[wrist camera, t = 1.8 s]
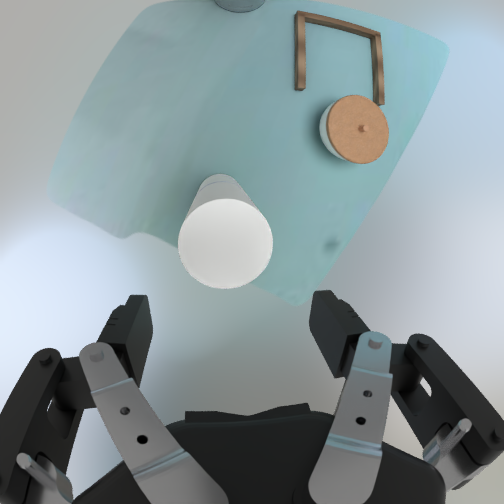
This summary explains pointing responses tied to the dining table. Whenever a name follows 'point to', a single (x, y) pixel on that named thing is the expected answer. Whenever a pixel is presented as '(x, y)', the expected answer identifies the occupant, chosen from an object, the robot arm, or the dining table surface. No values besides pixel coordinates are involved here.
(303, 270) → the dining table surface
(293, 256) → the dining table surface
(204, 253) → the cylindrical container
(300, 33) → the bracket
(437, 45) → the dining table surface
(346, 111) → the lidded jar
